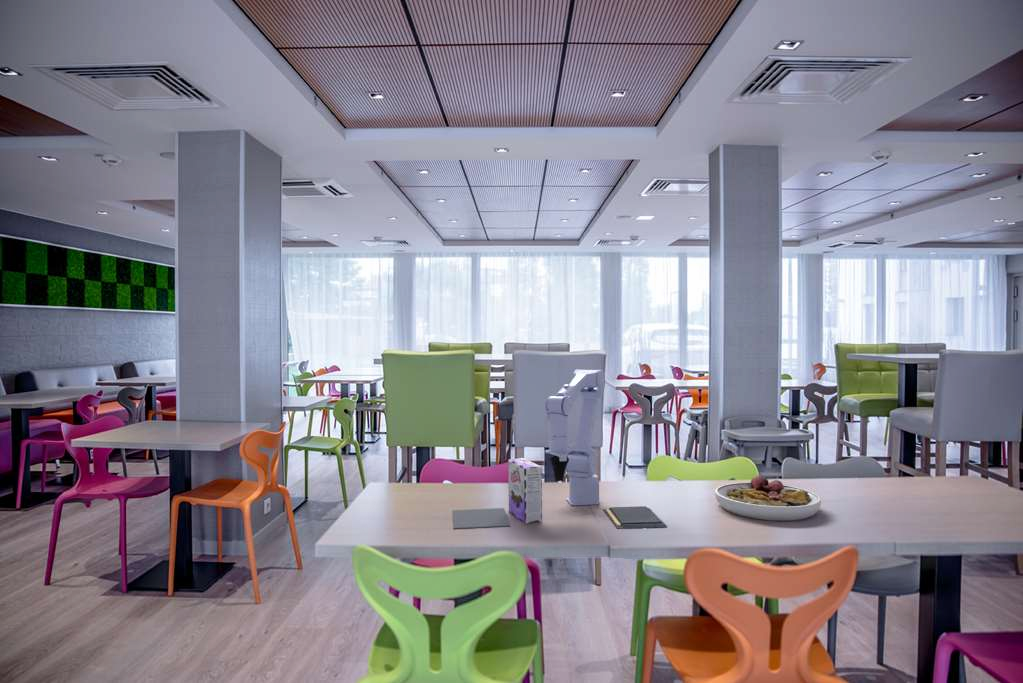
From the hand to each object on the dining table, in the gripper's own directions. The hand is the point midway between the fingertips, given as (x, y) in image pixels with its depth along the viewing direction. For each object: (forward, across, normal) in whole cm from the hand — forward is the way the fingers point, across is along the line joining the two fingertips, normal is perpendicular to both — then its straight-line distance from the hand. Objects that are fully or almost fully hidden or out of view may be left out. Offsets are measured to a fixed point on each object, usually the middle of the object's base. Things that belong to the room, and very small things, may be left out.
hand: (559, 480), depth 182 cm
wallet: (+11, +6, +21) cm, 25 cm away
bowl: (+11, +3, +64) cm, 66 cm away
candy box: (+11, 0, -10) cm, 15 cm away
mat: (+10, 0, -24) cm, 26 cm away
